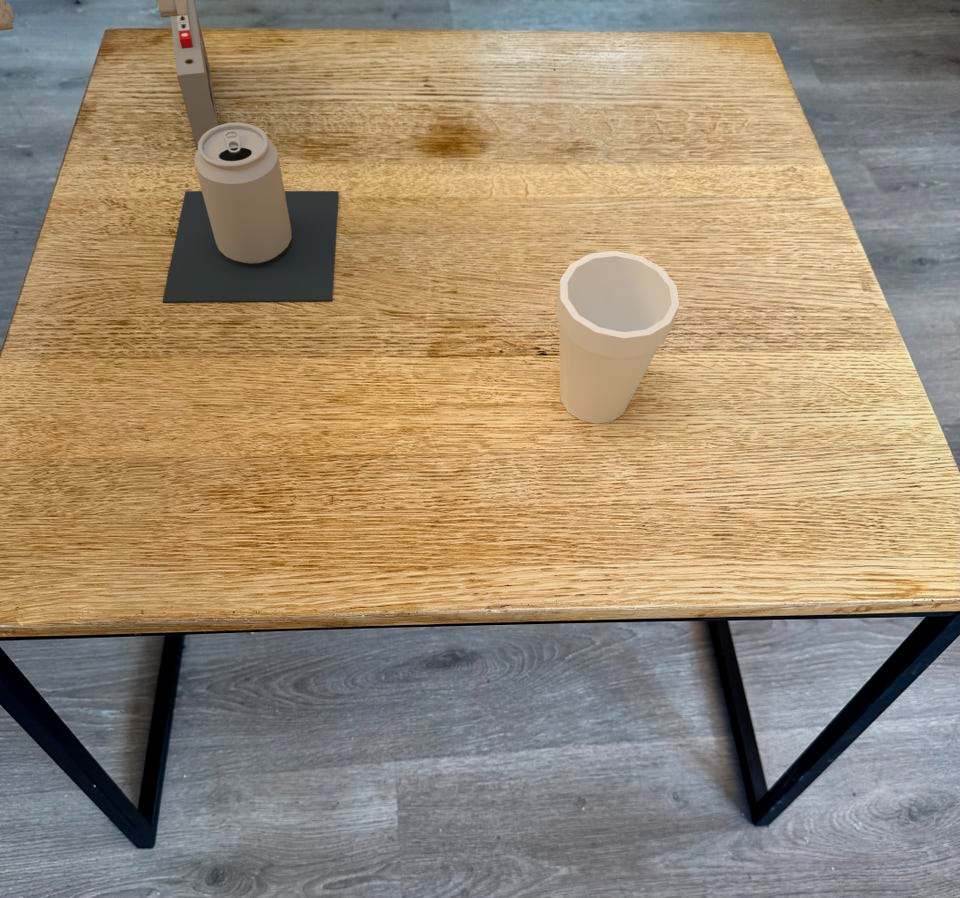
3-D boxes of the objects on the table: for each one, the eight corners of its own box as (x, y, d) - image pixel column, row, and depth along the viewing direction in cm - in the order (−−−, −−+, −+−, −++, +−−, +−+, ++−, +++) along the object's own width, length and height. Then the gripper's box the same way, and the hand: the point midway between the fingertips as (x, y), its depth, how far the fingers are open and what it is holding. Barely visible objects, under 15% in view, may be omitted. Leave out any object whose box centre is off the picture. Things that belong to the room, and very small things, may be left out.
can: (221, 275, 86) (193, 173, 76) (213, 224, 90) (185, 121, 80) (298, 262, 87) (281, 161, 77) (286, 213, 91) (268, 111, 81)
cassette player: (221, 147, 97) (202, 63, 89) (196, 150, 96) (174, 66, 88) (209, 67, 105) (190, -17, 97) (186, 69, 105) (165, -14, 97)
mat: (162, 302, 83) (162, 301, 83) (185, 192, 92) (185, 191, 92) (332, 301, 84) (332, 299, 84) (338, 192, 94) (338, 191, 93)
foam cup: (665, 393, 80) (701, 290, 69) (607, 455, 75) (636, 357, 65) (581, 340, 83) (603, 234, 72) (521, 397, 79) (535, 294, 68)
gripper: (-301, -257, 35) (-119, 66, 46) (225, -272, 38) (273, 33, 49) (-263, -310, 38) (-103, 3, 50) (216, -319, 42) (263, -24, 53)
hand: (88, 18), depth 50 cm, fingers open, 8 cm apart
